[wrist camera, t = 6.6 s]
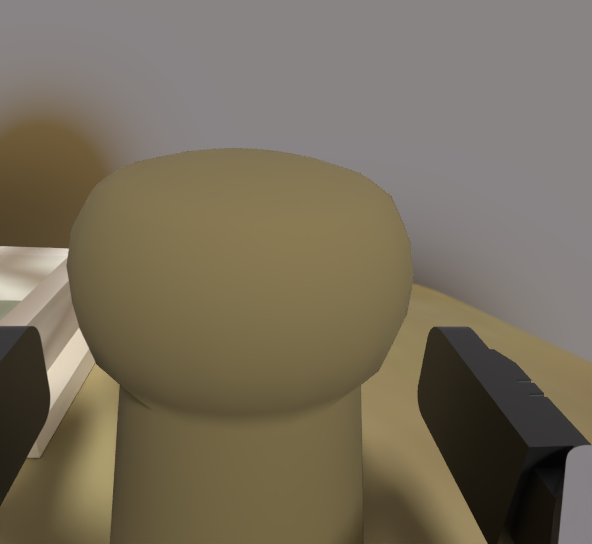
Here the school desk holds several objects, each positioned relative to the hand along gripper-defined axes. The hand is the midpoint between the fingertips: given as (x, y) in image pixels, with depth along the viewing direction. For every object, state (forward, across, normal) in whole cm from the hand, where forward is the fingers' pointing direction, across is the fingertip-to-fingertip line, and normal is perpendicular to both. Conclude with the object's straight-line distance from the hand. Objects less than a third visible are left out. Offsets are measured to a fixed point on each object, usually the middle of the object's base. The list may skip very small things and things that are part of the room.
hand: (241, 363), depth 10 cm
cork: (-1, 0, +7) cm, 7 cm away
